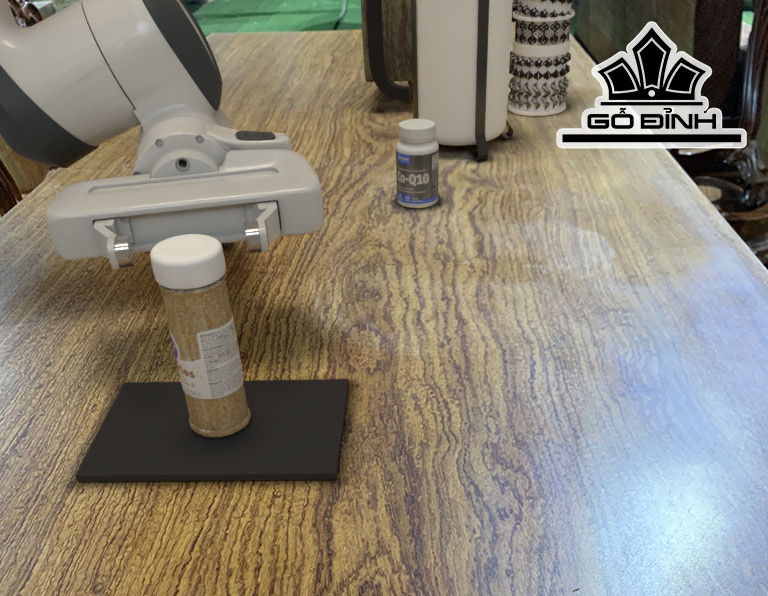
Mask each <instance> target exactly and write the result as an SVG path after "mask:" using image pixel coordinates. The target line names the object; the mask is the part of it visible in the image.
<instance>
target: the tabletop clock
mask: <svg viewBox="0 0 768 596" xmlns="http://www.w3.org/2000/svg"><path fill="white" fill-rule="evenodd" d="M360 17H361V18H360V19H361V37H362V54H363V68H364V79H365V82H366V83H375V82H374V80H373V78H372V74H371V70H370V64H369V53H368V35H367V12H366V0H360ZM382 25H383V49H384V65H385V70H386V73H387V75H388V77H389V78H390V80H391V81H392V82H393V83H395V82H407V84H408V87H413V75H412V26H411V0H382ZM385 98H386V95H384V94H383V93H382V92H381V91H380V96H379V98H378V99H376V100H374V103H373V107H374V109H375V110H376V111H377V112H381V111H384V109H385V107H386V104H385V103H386V102H385V101H384V99H385Z"/></svg>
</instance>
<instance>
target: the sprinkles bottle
mask: <svg viewBox="0 0 768 596" xmlns="http://www.w3.org/2000/svg"><path fill="white" fill-rule="evenodd" d="M149 258H150V263H151V268H152V272H153V276H154V280H155V282H157V285H158V286H159V289H160V292H161V296H162V301H163V305H164V309H165V313H166V318H167V323H168V326H169V335H170V340H171V343H172V348H173V352H174V356H175V361H176V364H177V365H176V366H177V370H178V374H179V378H180V382H181V384H182V388H183V390H184V393H185V398H186V403H187V407H188V411H189V415H190V416H189V424H190V426H191V429H193V430H194V432H196V433H197V434H199V435H202V436H205V437H214V438H217V437H224V436H228V435H231V434H234V433H236V432H238V431H240V430H242V429H243V428H244V427H245V426H246V425H248V423H249V421H250V418H251V413H250V409H249V408H248V406H247V401H246V395H245V389H244V384H243V382H244V381H245V378H244V373H243V365H242V360H241V355H240V349H239V342H238V336H237V331H236V325H235V321H234V320H235V318H234V315H233V312H232V309H231V302H230V297H229V293H228V286H227V281H226V277H227V273H226V272H227V264H226V259H225V254H224V249H222V245H221V243H220V242H219V241H218V240H217V239H215V238H213V237H211V236H207V235H202V234H186V235H180V236H175V237H171V238H168V239H165V240H163V241H161V242H159V243H158V244H156V245H155V246H154V247H153V248H152V250H151V252H149Z"/></svg>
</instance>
